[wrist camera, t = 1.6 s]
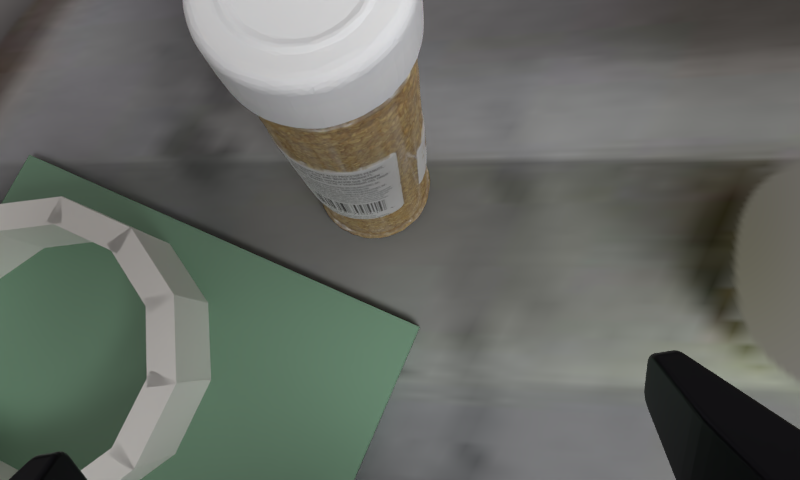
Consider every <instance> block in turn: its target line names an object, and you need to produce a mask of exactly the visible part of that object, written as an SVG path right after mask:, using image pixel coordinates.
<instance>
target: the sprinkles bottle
mask: <svg viewBox="0 0 800 480" xmlns="http://www.w3.org/2000/svg"><path fill="white" fill-rule="evenodd" d="M183 10H184V15H185V19H186V23H187V26H188V29H189V31H190V34H191V37H192V39H193V41H194V42H195V44H196V46H197V48H198V49H199V51H200V52H201V54H202V55H203V57H204V58H205V60H206V61H207V62H208V64H209V65H210V67H211V68H212V70H213V71H214V73H215V74H216V75H217V77H218V78H219V79H220V80H221V82H222V83H223V84H224V85H225V87H226V88H227V89H228V90H229V92H230V93H231V94H232V95H233V96H234V97H235V98H236V99H237V100H238V101H239V102H240V103H241V104H242V105H243V106H245V107H246V108H247V109H248V110H250V111H251V112H253V113H254V114H256V115H258V116H259V118H260V120H261V121H262V122H263V124H264V125H265V126H266V128H267V130H268V132H269V134H270V136H271V138H272V140H273V141H274V142H275V144H276V145H277V147H278V148H279V149H280V150H281V152H282V153H283V154H284V156H285V157H286V158H287V160H288V161H289V162H290V164H291V165H292V166H293V168H294V169H295V170H296V172H297V173H298V174H299V175H300V177H301V178H302V179H303V181H304V182H305V183H306V184H307V186H308V187H309V188H310V190H311V191H312V192H313V193H314V195H315V196H316V197H317V198H318V199H319V200H320V201H321V202H322V203H323V206H324V208H325V210H326V212H327V213H328V215H329V217H330V218H331V219H332V220H333V221H334V222H335V223H336V224H337V225H338V226H339V227H340V228H342V229H343V230H345V231H348V232H350V233H351V234H353V235H358V236H361V237H364V238H382V237H388V236H390V235H393V234H396V233H398V232H400V231H402V230H404V229H405V228H406V227H407V226H409V225H410V224H411V223H413V222H414V221H415V220H416V219H417V218H418V217H419V215H420V214H421V212H422V210H423V208H424V206H425V204H426V201H427V198H428V192H429V185H430V177H429V172H428V169H427V166H426V163H427V148H426V137H425V124H424V117H423V113H422V110H421V99H420V85H419V69H418V63H417V57H418V54H419V51H420V47H421V43H422V38H423V26H424V16H423V0H183Z"/></svg>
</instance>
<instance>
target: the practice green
mask: <svg viewBox="0 0 800 480" xmlns="http://www.w3.org/2000/svg"><path fill="white" fill-rule="evenodd" d="M419 328H420V327H418V326H416V325H414V324H411V323H409V322H407V321H405V320H402V319H400V318H398V317H396V316H393V315H391V314H389V313H387V312H384V311H382V310H380V309H377V308H375V307H373V306H371V305H368V304H366V303H364V302H362V301H359V300H357V299H355V298H353V297H350V296H348V295H346V294H344V293H341V292H339V291H337V290H334V289H332V288H330V287H328V286H325V285H323V284H321V283H319V282H316V281H314V280H312V279H310V278H307V277H305V276H303V275H300V274H298V273H296V272H294V271H291V270H289V269H287V268H285V267H282V266H280V265H278V264H276V263H273V262H271V261H269V260H267V259H264V258H262V257H260V256H257V255H255V254H253V253H251V252H248V251H246V250H244V249H242V248H239V247H237V246H235V245H233V244H230V243H228V242H226V241H223V240H221V239H219V238H217V237H214V236H212V235H210V234H208V233H205V232H203V231H201V230H199V229H196V228H194V227H192V226H189V225H187V224H185V223H183V222H180V221H178V220H176V219H174V218H171V217H169V216H167V215H165V214H162V213H160V212H158V211H156V210H153V209H151V208H149V207H146V206H144V205H142V204H140V203H137V202H135V201H133V200H131V199H128V198H126V197H124V196H122V195H119V194H117V193H115V192H112V191H110V190H108V189H106V188H103V187H101V186H99V185H97V184H94V183H92V182H90V181H88V180H85V179H83V178H81V177H79V176H76V175H74V174H72V173H69V172H67V171H65V170H63V169H60V168H58V167H56V166H54V165H51V164H49V163H47V162H45V161H42V160H40V159H38V158H35V157H33V156H31V155H29V157H28V158H27V160H26V162H25V163H24V165H23V167H22V169H21V170H20V172H19V174H18V176H17V177H16V179H15V181H14V183H13V184H12V186H11V188H10V189H9V191H8V193H7V195H6V196H5V198H4V200H3V202H2V203H1V204H0V480H9V479H10V478H11V477H12V476H13V475H14V474H15V473H16V472H17V471H18V470H19V469H20V468H22V467H23V466H24V465H25V464H26V463H27V462H28V461H29V460H30V459H32V458H33V457H35V456H37V455H40V454H46V453H52V452H58V451H62V452H65V453H67V454H68V455H69V456H70V457H71V459H72V460H73V461H74V463H75V464H76V465H77V467H78V468H79V469H80V471H81V472H82V473H83V474H84V476H85V477H86V478H87V480H355V477H356V475H357V473H358V470H359V468H360V466H361V463H362V461H363V459H364V456H365V454H366V452H367V449H368V447H369V445H370V442H371V440H372V438H373V435H374V433H375V431H376V428H377V426H378V424H379V421H380V419H381V417H382V414H383V412H384V410H385V407H386V405H387V403H388V400H389V398H390V396H391V394H392V391H393V389H394V387H395V384H396V382H397V380H398V377H399V375H400V373H401V370H402V368H403V366H404V363H405V361H406V359H407V356H408V354H409V352H410V349H411V347H412V345H413V342H414V340H415V338H416V335H417V333H418V331H419Z"/></svg>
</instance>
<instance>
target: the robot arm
mask: <svg viewBox="0 0 800 480" xmlns="http://www.w3.org/2000/svg"><path fill="white" fill-rule="evenodd" d="M644 393H645V400H646V404H647V407H648V410H649V412H650V415H651V417H652V420H653V422H654V425H655V428H656V430H657V433H658V435H659V438H660V440H661V443H662V445H663V448H664V450H665V453H666V455H667V458H668V460H669V463H670V466H671V468H672V471H673V473H674V476H675V478H676V480H800V429H798V428H797V427H795V426H794V425H792V424H790V423H789V422H787V421H786V420H784V419H783V418H781V417H780V416H778V415H777V414H775V413H774V412H772V411H771V410H769V409H768V408H766V407H765V406H763V405H762V404H760V403H758V402H757V401H755V400H754V399H752V398H751V397H749V396H748V395H746V394H745V393H743V392H742V391H740V390H739V389H737V388H736V387H734V386H733V385H731V384H729V383H728V382H726V381H725V380H723V379H722V378H720V377H719V376H717V375H716V374H714V373H713V372H711V371H710V370H708V369H707V368H705V367H704V366H702V365H700V364H699V363H697V362H696V361H694V360H693V359H691V358H690V357H688V356H687V355H685V354H684V353H682V352H679V351H667V352H661V353H655V354H652V355H651V356H650V357H649V359H648V363H647V372H646V381H645V391H644ZM9 480H87V478H86V477H85V476H84V474H83V473H82V472H81V471H80V469H79V468H78V467H77V465H76V464H75V463H74V461H73V460H72V459H71V457H70V456H69V455H68V454H67V453H65V452H62V451H58V452H52V453H46V454H40V455H37V456H35V457H33V458H32V459H30V460H29V461H28V462H27V463H26V464H25V465H24V466H23V467H22V468H20V469H19V470H18V471H17V472H16V473H15V474H14V475H13V476H12V477H11V478H10V479H9Z"/></svg>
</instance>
